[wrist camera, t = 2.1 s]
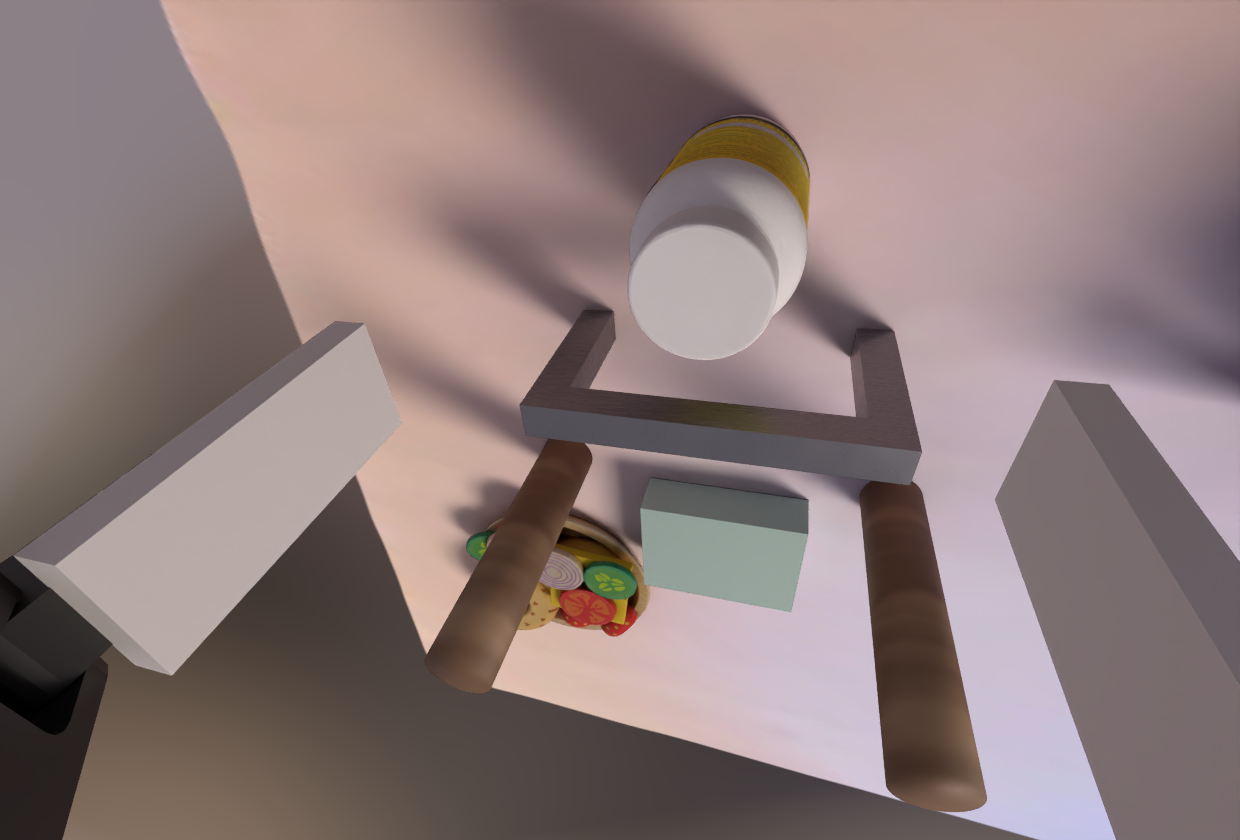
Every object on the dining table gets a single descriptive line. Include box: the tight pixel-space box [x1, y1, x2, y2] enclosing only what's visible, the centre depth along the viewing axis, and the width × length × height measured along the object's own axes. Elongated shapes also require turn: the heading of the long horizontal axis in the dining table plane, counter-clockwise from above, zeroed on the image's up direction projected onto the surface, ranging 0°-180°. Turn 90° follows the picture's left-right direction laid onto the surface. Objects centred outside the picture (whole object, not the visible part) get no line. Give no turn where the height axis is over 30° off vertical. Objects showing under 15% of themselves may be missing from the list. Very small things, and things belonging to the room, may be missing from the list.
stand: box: [640, 478, 808, 612], centre depth 33 cm, size 7×9×2 cm
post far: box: [425, 439, 592, 693], centre depth 28 cm, size 3×3×14 cm
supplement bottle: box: [628, 114, 810, 360], centre depth 18 cm, size 5×5×10 cm
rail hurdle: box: [520, 310, 922, 485], centre depth 23 cm, size 2×14×8 cm, turn 95°
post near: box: [860, 481, 987, 812], centre depth 24 cm, size 3×3×14 cm
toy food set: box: [466, 515, 650, 636], centre depth 40 cm, size 13×13×3 cm
